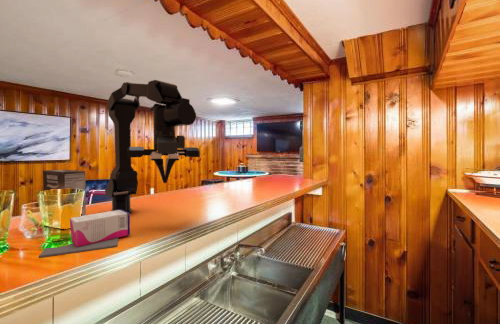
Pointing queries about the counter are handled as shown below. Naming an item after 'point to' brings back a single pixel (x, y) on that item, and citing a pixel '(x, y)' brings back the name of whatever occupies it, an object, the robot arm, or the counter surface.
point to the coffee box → (65, 181)
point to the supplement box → (99, 227)
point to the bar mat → (79, 248)
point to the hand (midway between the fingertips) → (164, 182)
